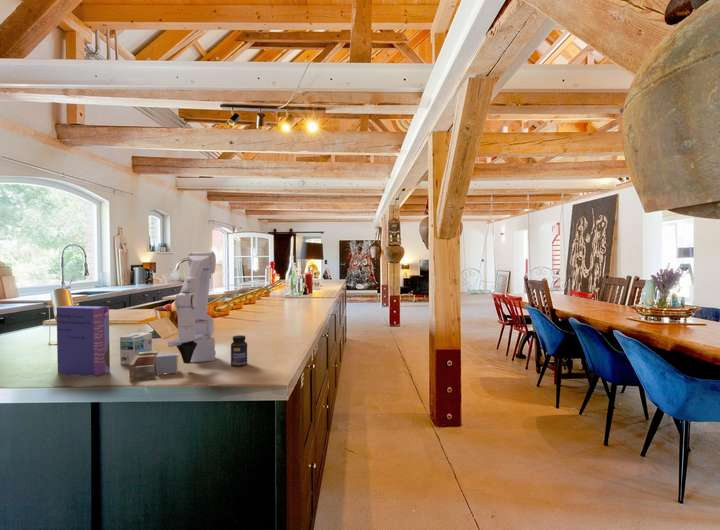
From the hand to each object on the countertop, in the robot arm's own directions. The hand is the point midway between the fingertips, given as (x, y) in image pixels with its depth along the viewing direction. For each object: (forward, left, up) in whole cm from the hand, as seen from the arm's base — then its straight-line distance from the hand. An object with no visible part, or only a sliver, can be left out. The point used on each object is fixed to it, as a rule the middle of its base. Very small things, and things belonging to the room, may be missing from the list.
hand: (187, 362), depth 149 cm
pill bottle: (-18, -1, -3) cm, 19 cm away
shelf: (+15, -1, -3) cm, 15 cm away
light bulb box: (+19, -23, -3) cm, 30 cm away
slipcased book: (+6, 0, -3) cm, 7 cm away
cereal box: (+35, -11, -3) cm, 37 cm away
